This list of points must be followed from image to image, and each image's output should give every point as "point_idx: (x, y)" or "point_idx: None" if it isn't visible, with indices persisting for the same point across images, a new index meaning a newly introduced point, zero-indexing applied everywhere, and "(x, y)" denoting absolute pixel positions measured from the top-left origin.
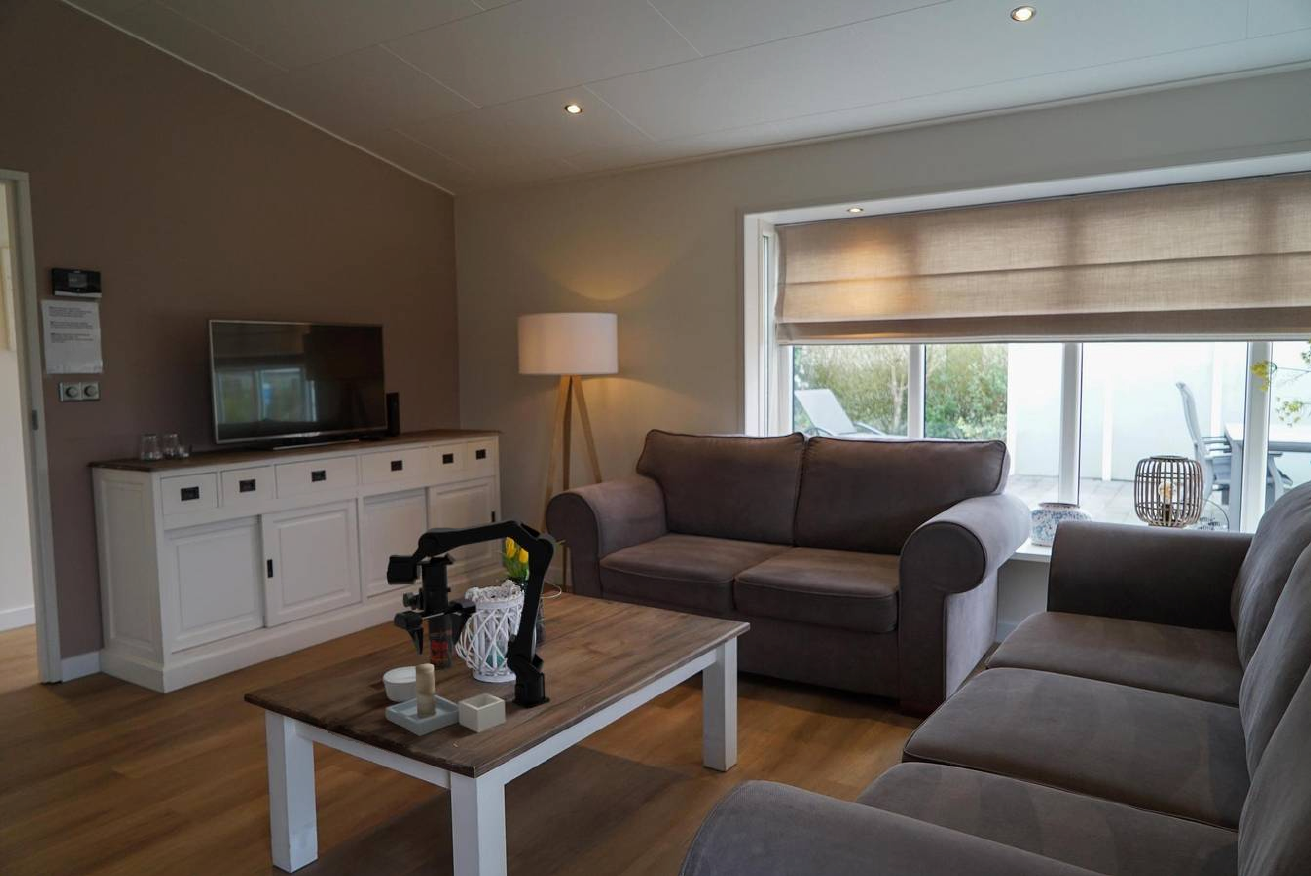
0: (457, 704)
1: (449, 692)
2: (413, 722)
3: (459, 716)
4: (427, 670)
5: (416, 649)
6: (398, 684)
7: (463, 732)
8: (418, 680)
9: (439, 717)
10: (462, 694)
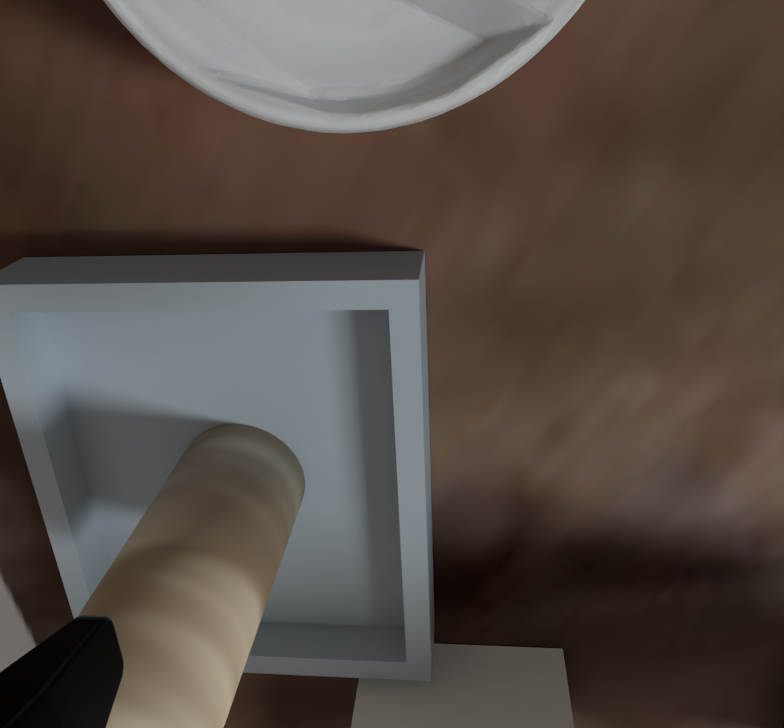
0: (426, 600)
1: (680, 122)
2: (75, 615)
3: (359, 681)
4: None
5: (9, 674)
6: (134, 35)
7: (323, 723)
8: None
9: None
10: (715, 256)
